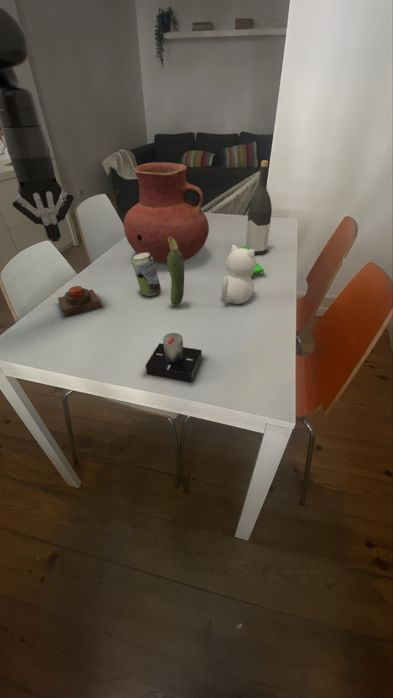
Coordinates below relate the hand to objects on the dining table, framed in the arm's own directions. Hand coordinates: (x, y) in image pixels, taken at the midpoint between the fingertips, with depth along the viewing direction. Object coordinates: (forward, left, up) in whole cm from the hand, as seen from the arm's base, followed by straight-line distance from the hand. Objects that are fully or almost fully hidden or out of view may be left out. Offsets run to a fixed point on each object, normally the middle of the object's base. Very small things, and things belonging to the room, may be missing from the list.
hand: (55, 240), depth 74 cm
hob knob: (+14, -32, -18) cm, 40 cm away
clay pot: (+39, +24, -21) cm, 50 cm away
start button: (+2, +5, -17) cm, 18 cm away
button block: (+2, +5, -21) cm, 21 cm away
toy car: (+56, -1, -21) cm, 60 cm away
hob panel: (+14, -32, -21) cm, 41 cm away
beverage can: (+22, +2, -21) cm, 30 cm away
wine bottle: (+70, +12, -21) cm, 74 cm away
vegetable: (+26, -10, -21) cm, 35 cm away
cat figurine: (+42, -15, -21) cm, 49 cm away
